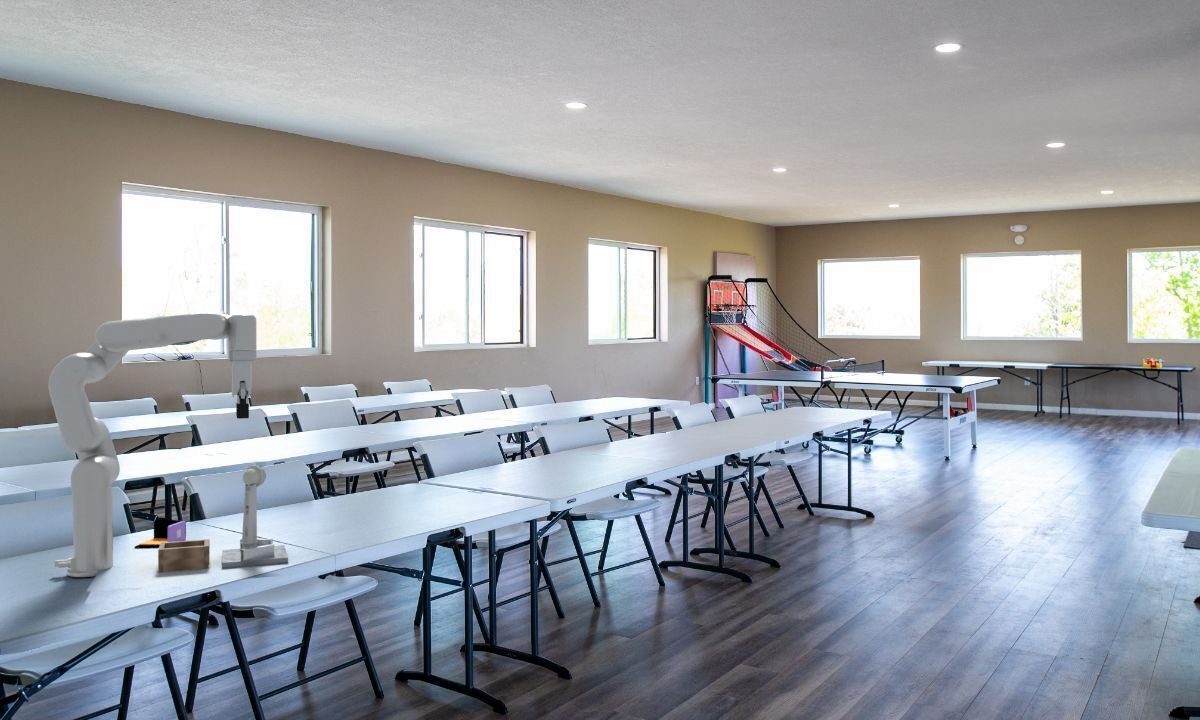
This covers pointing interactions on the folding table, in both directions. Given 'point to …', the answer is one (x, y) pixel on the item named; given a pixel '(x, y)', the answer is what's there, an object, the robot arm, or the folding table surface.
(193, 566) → the open wooden box
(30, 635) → the folding table surface
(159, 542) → the dollhouse room
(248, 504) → the handheld massager
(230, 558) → the v block
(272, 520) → the folding table surface
